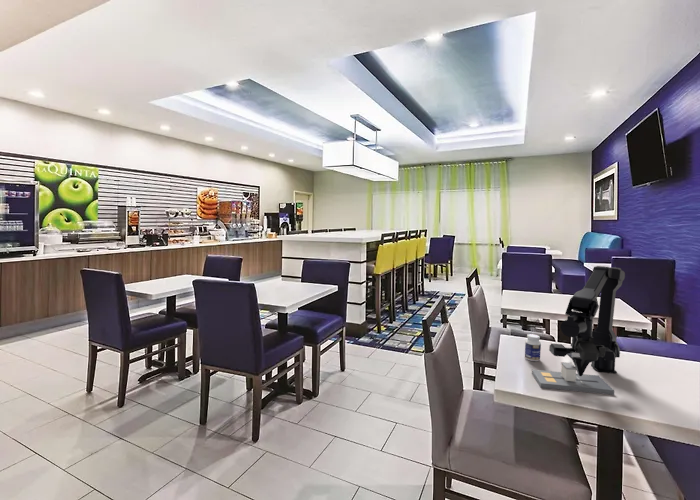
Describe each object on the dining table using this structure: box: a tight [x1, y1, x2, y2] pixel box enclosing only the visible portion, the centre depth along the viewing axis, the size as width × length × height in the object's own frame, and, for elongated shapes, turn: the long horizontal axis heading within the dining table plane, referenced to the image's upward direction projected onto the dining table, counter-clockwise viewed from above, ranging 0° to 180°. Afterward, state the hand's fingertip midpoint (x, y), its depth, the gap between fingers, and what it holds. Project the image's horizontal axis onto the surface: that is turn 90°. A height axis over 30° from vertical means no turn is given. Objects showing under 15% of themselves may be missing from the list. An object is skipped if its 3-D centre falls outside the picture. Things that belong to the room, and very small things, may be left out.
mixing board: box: [531, 369, 615, 396], centre depth 126 cm, size 22×12×2 cm, turn 76°
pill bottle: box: [524, 333, 542, 362], centre depth 149 cm, size 6×6×10 cm
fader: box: [560, 361, 577, 382], centre depth 126 cm, size 3×5×5 cm, turn 166°
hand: (580, 375), depth 125 cm, fingers closed
